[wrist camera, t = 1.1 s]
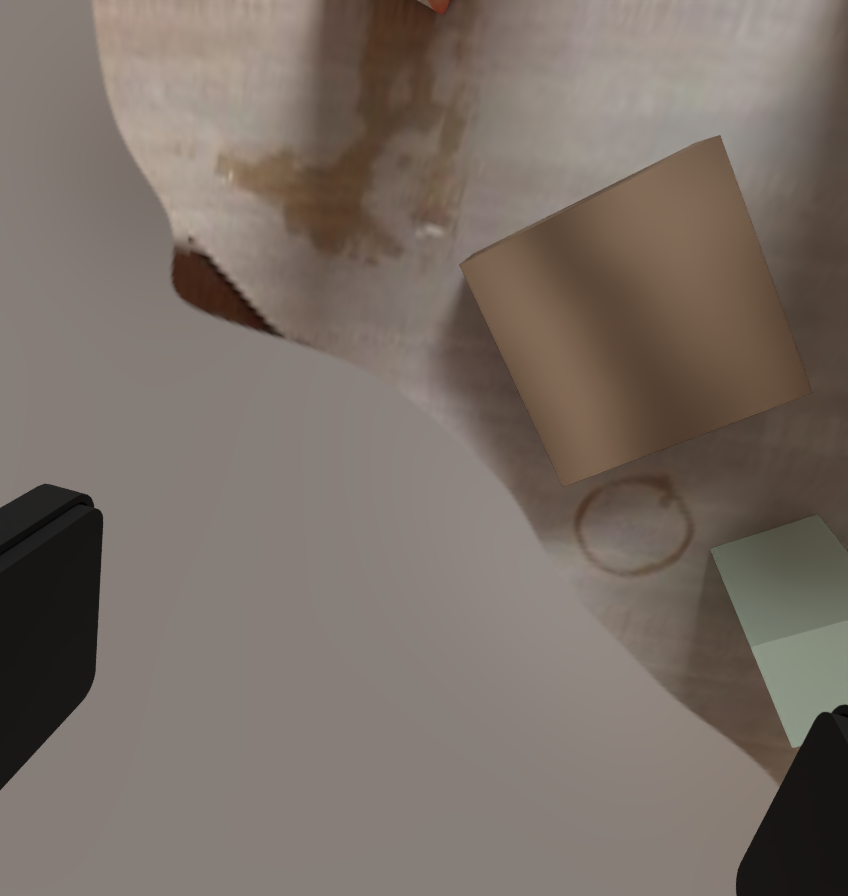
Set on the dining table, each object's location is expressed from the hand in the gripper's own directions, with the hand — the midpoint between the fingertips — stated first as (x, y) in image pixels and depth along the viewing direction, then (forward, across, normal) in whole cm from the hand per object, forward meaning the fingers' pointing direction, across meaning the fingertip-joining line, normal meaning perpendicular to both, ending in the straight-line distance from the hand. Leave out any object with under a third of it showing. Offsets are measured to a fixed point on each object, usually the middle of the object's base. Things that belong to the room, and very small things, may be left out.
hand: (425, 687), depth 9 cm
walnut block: (+26, -4, -2) cm, 26 cm away
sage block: (+26, -15, +8) cm, 31 cm away
